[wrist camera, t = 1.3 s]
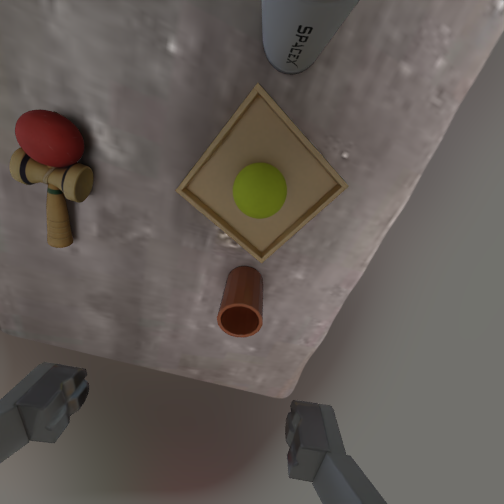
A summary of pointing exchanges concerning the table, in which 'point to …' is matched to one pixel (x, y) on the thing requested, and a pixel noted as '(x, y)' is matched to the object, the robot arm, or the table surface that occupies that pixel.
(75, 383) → the robot arm
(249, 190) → the tennis ball
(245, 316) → the cup
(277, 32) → the travel mug
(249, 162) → the tray
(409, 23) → the table surface
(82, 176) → the kendama
